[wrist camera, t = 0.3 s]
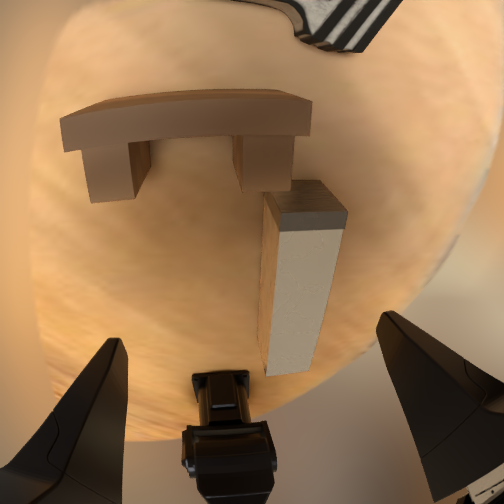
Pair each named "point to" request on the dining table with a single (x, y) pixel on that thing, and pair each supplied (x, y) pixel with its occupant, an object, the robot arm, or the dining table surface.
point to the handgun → (335, 21)
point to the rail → (296, 272)
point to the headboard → (187, 135)
